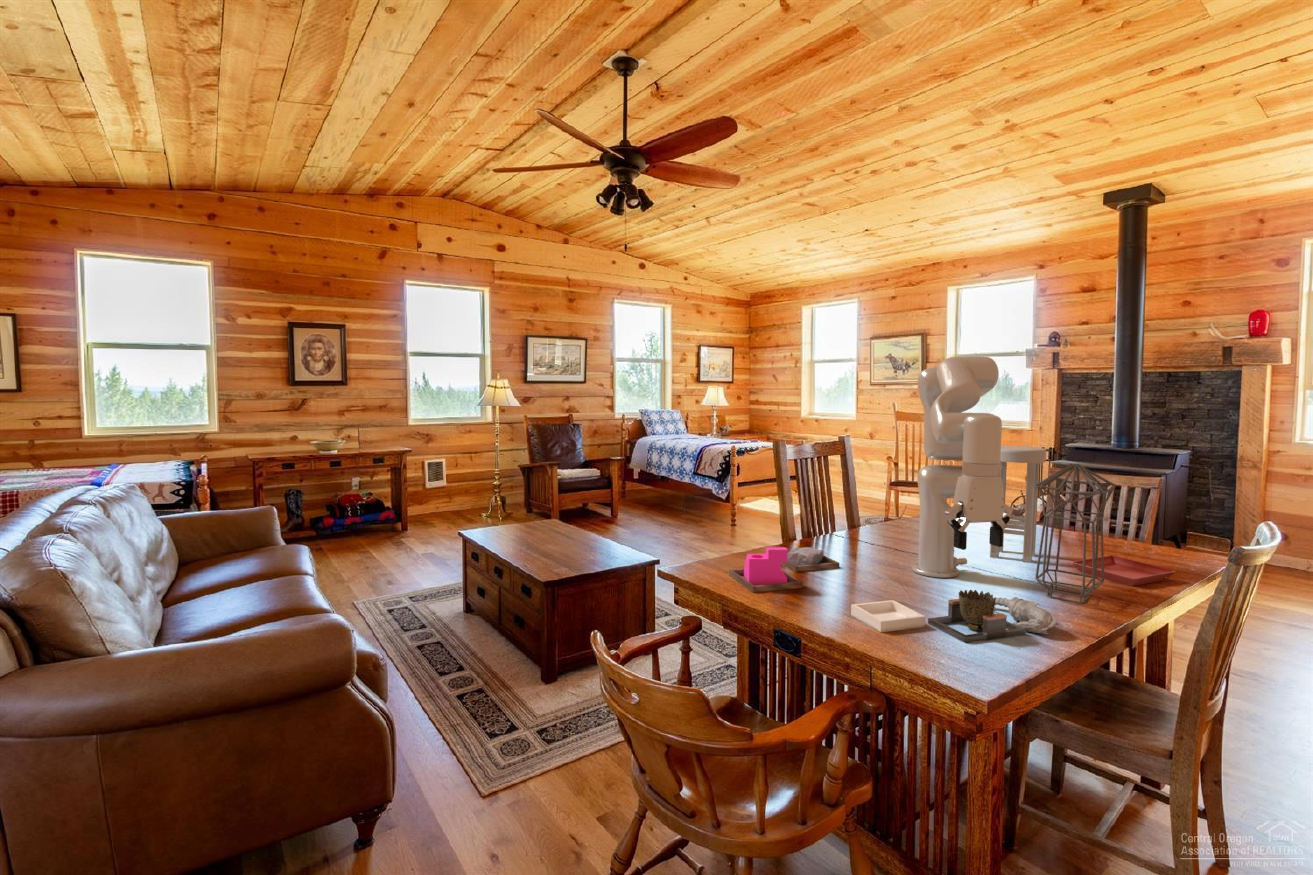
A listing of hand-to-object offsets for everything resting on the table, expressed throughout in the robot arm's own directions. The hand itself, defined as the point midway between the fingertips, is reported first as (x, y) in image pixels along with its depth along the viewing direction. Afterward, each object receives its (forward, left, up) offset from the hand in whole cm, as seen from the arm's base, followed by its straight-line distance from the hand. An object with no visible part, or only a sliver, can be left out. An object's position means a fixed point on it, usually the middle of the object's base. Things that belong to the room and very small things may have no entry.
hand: (978, 546), depth 144 cm
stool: (-58, -48, -19) cm, 78 cm away
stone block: (+10, -60, -19) cm, 64 cm away
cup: (0, 0, -19) cm, 19 cm away
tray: (+16, -10, -19) cm, 26 cm away
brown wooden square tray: (+30, -46, -19) cm, 58 cm away
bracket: (+30, -46, -19) cm, 58 cm away
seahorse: (-13, -1, -19) cm, 23 cm away
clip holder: (0, 0, -19) cm, 19 cm away
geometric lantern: (-39, -11, -19) cm, 45 cm away
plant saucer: (-71, -22, -19) cm, 77 cm away
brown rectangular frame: (+10, -60, -19) cm, 63 cm away
